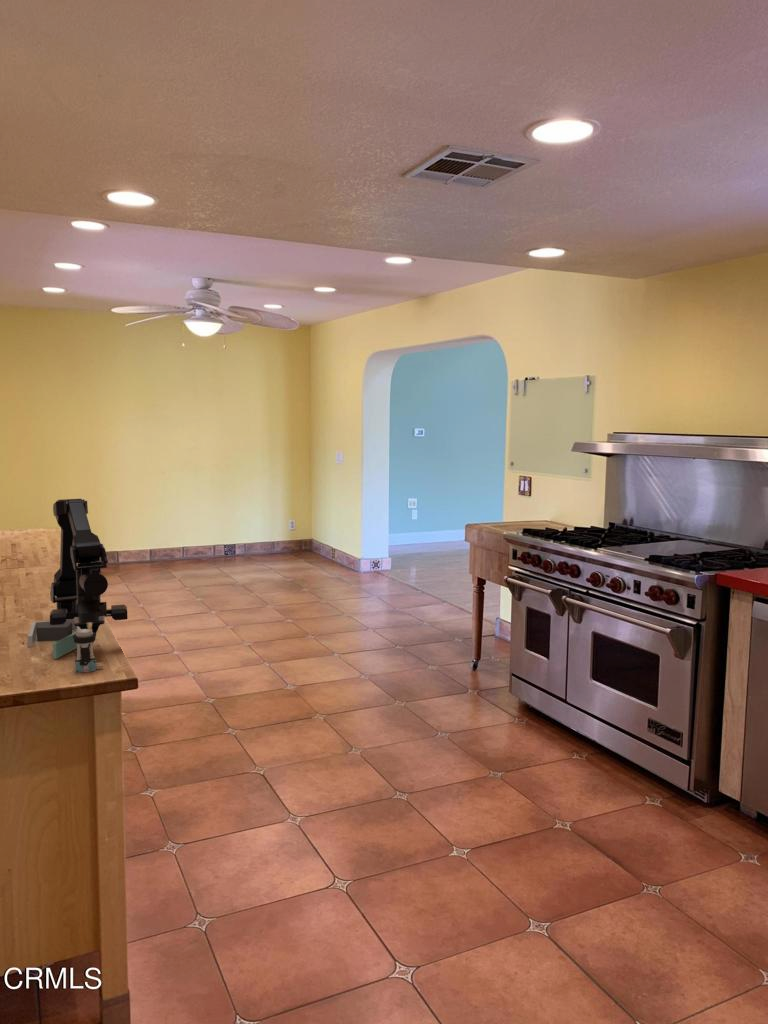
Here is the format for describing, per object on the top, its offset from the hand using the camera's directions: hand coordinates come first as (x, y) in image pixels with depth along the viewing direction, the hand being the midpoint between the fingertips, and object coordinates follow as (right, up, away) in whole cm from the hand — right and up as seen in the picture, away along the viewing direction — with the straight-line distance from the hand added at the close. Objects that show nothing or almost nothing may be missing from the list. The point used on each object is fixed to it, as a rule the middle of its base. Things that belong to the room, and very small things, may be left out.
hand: (90, 646), depth 200 cm
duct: (-13, 0, +12) cm, 18 cm away
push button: (+5, -4, -14) cm, 15 cm away
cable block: (-14, 0, +12) cm, 19 cm away
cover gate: (-5, -1, 0) cm, 6 cm away
